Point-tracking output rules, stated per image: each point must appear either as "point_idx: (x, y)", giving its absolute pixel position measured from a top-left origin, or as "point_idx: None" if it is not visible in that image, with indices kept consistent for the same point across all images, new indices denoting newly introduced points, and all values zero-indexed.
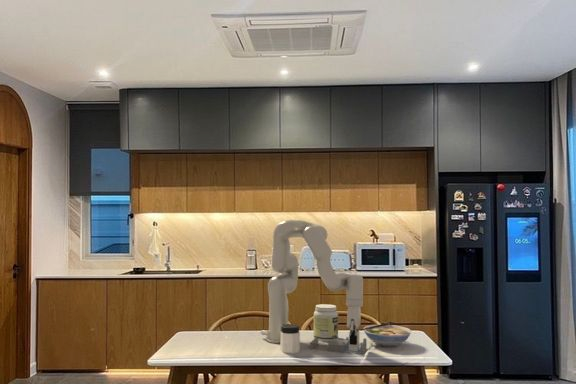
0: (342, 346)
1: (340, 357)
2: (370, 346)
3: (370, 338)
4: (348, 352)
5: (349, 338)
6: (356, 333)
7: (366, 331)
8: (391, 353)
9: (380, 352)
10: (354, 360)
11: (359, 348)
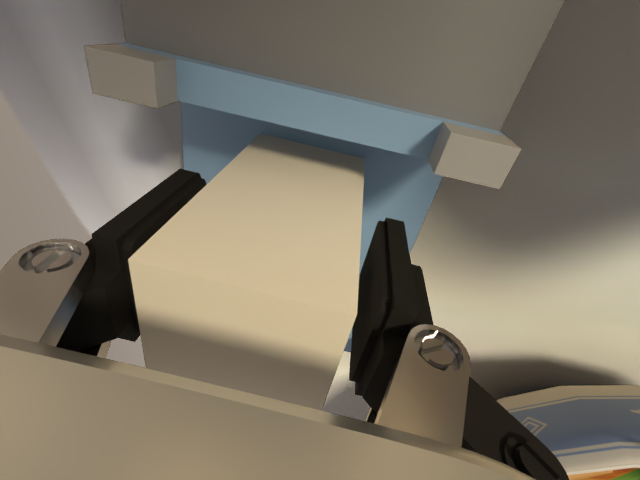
0: (137, 43)
1: (63, 11)
2: (533, 333)
3: (555, 401)
4: (183, 121)
5: (198, 199)
6: (154, 366)
7: (607, 463)
8: (326, 402)
9: (342, 360)
10: (46, 164)
11: (361, 247)
